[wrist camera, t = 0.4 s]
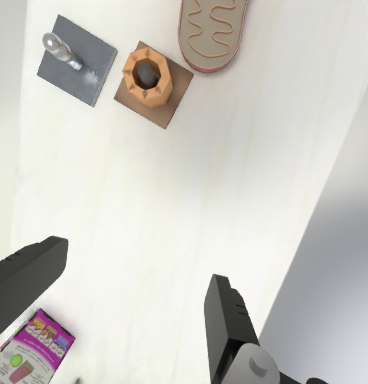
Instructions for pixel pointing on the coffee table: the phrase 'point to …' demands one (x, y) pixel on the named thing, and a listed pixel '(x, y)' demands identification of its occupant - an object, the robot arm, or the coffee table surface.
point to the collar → (158, 66)
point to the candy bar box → (34, 351)
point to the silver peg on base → (76, 60)
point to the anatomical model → (210, 32)
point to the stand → (150, 80)
